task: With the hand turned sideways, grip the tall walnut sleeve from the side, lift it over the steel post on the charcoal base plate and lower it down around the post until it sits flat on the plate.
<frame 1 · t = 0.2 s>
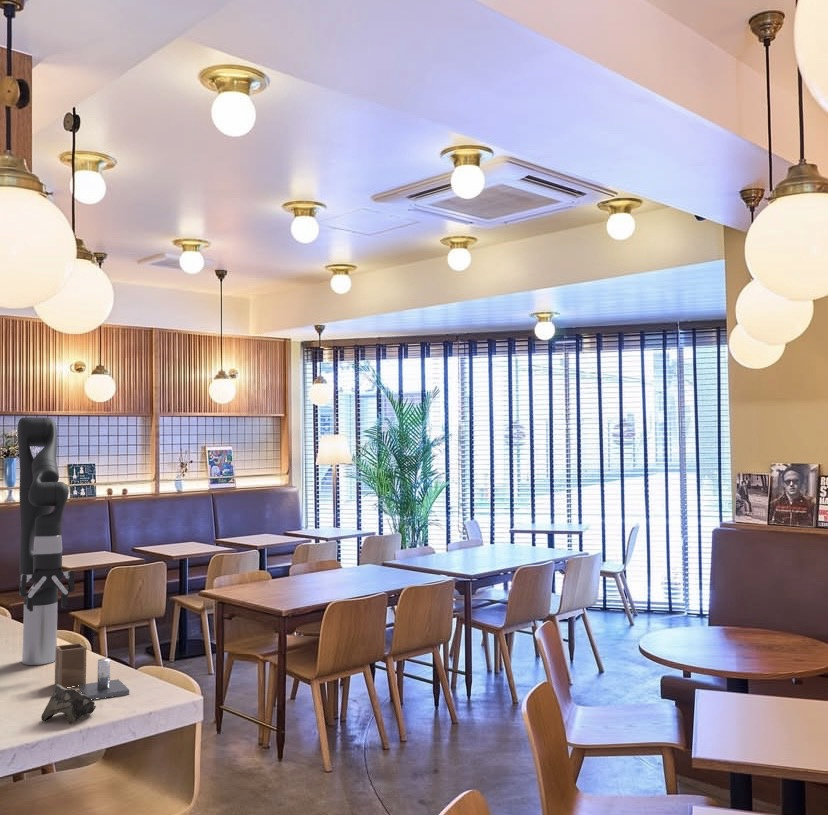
hand: (47, 609, 233), 18 cm above the table, tool pointing down, fingers open, 8 cm apart
walnut sleeve: (70, 684, 218), on the table
fossil: (71, 719, 190), on the table
post plate: (103, 692, 211), on the table
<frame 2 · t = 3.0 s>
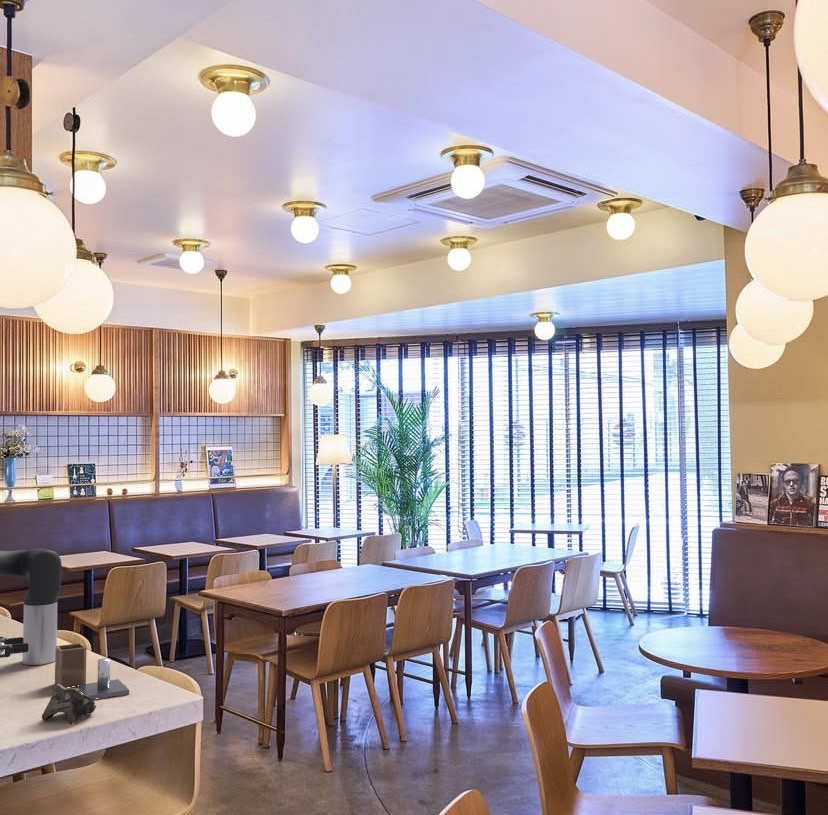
hand: (25, 644, 213), 12 cm above the table, tool horizontal, fingers open, 8 cm apart
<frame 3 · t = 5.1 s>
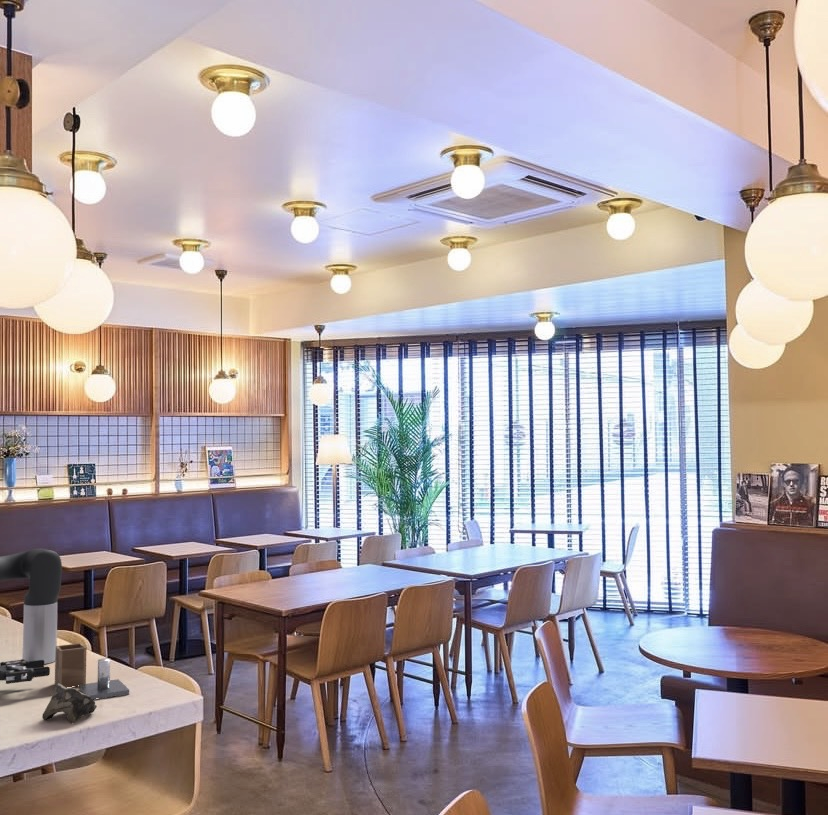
hand: (46, 667, 215), 5 cm above the table, tool horizontal, fingers open, 8 cm apart
nothing on the table moved.
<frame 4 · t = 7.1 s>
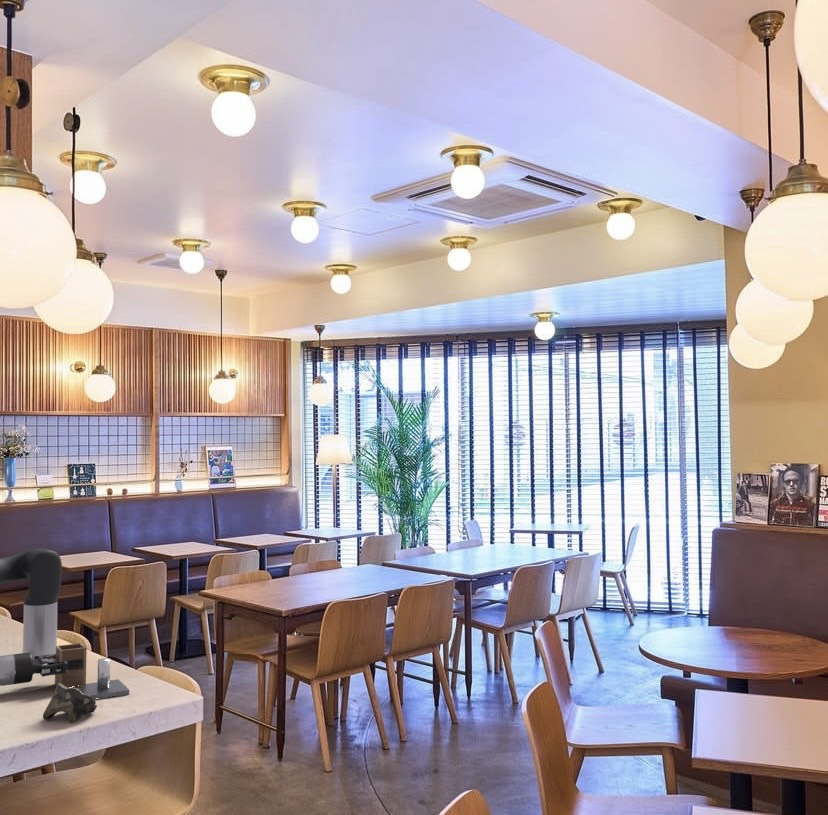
hand: (79, 660, 220), 6 cm above the table, tool horizontal, fingers closed on walnut sleeve, 6 cm apart
walnut sleeve: (70, 684, 218), on the table, touching gripper
everything else where it was.
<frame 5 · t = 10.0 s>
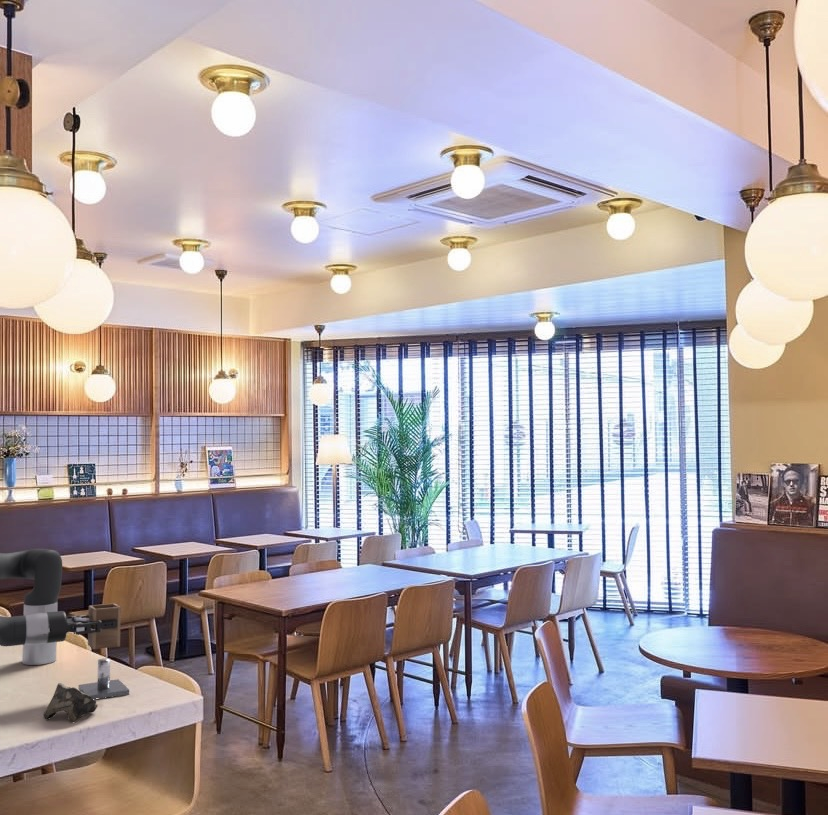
hand: (113, 620, 214), 18 cm above the table, tool horizontal, fingers closed on walnut sleeve, 6 cm apart
walnut sleeve: (103, 645, 212), point 12 cm above the table, touching gripper
when the fingers open (8 cm above the table, at t = 13.2 s): walnut sleeve drops 1 cm, resting on post plate.
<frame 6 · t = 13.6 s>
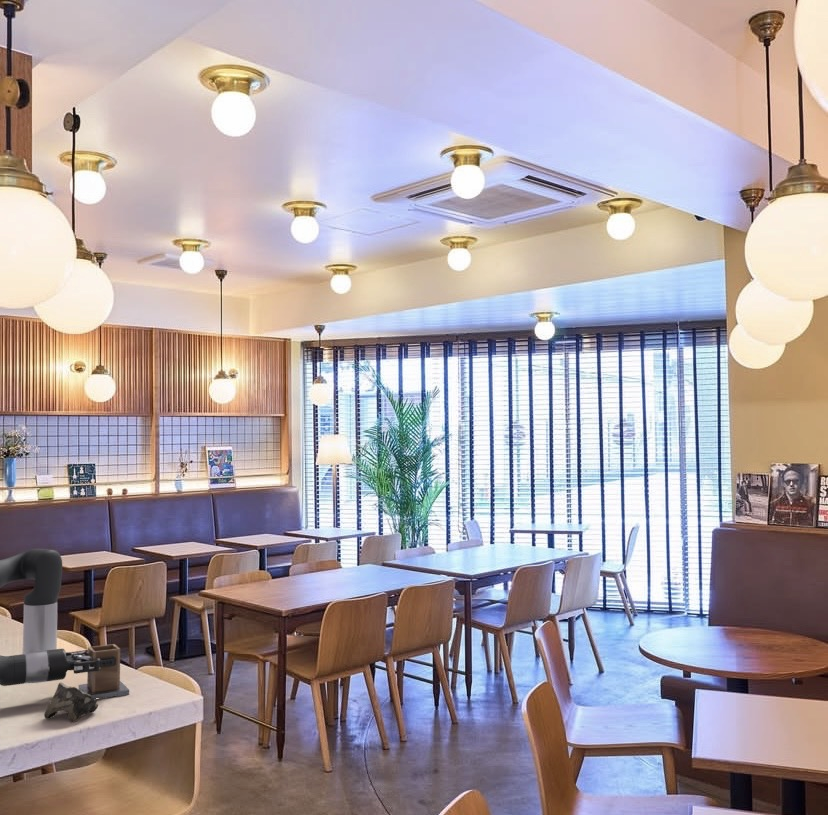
hand: (111, 657, 213), 9 cm above the table, tool horizontal, fingers open, 8 cm apart
walnut sleeve: (103, 687, 212), point 1 cm above the table, touching post plate
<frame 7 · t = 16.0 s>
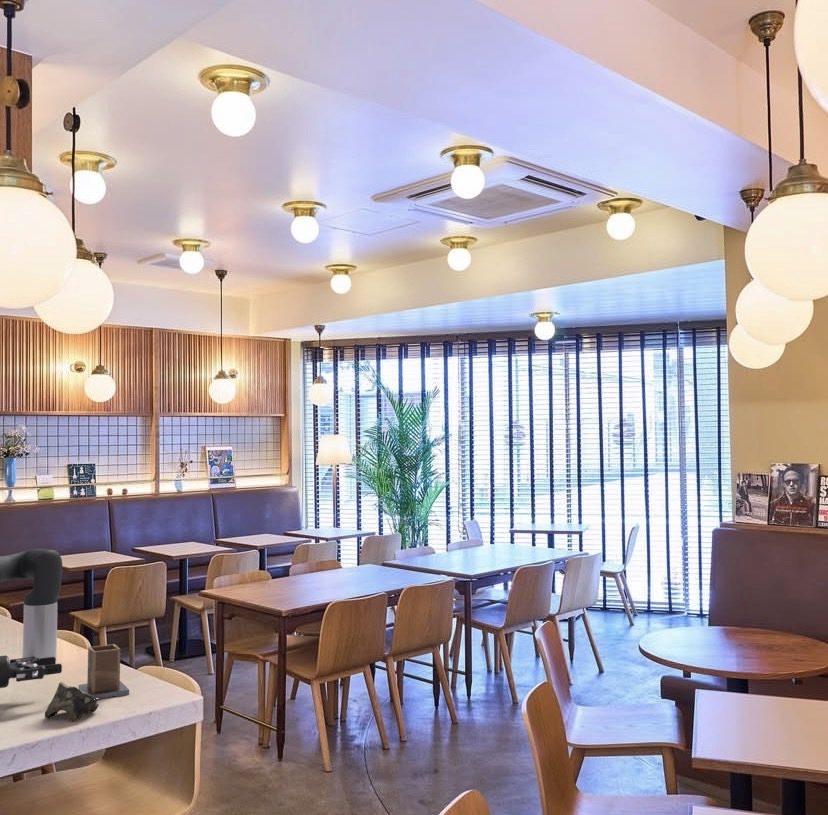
hand: (58, 664, 206), 8 cm above the table, tool horizontal, fingers open, 8 cm apart
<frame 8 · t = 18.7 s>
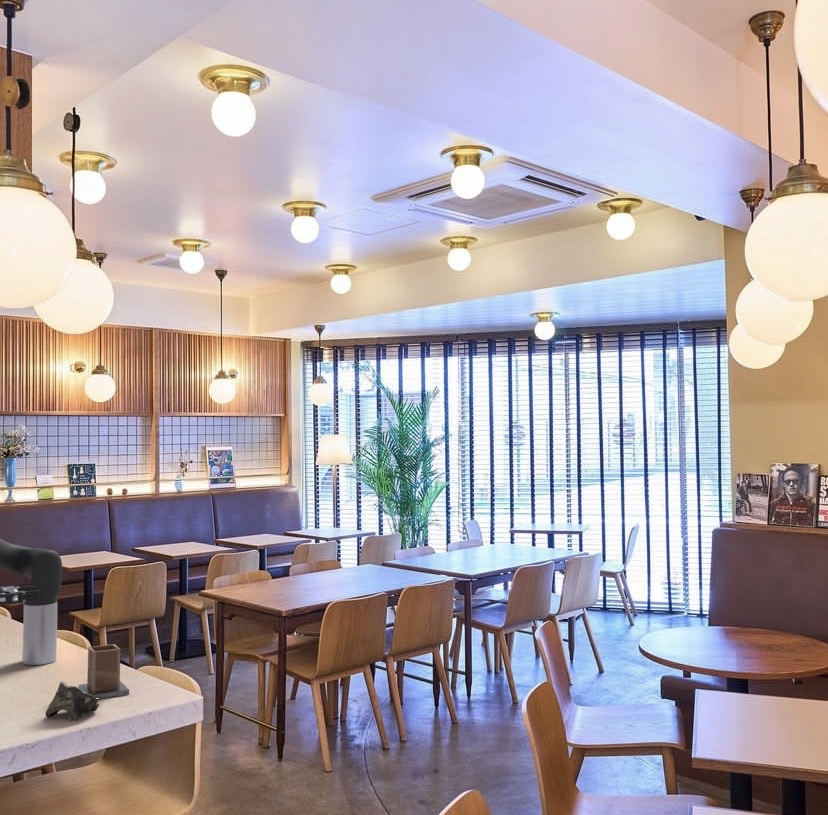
hand: (39, 592, 210), 26 cm above the table, tool horizontal, fingers open, 8 cm apart
at the end: walnut sleeve 0.1 cm off-centre on the post plate, point 1.2 cm above the post plate's base; walnut sleeve tilted 0°; the gripper is holding nothing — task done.
